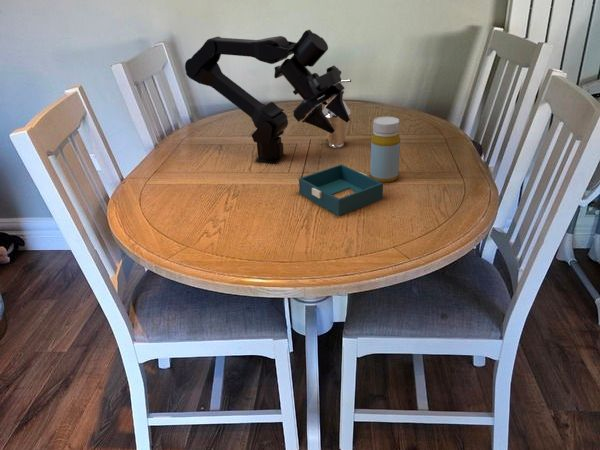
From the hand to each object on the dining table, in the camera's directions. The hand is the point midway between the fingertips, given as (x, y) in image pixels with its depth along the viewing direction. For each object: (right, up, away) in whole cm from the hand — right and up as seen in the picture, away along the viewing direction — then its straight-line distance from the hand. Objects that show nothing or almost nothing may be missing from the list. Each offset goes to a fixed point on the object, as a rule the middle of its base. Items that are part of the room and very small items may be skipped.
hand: (341, 126), depth 123 cm
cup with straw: (+1, -1, +22) cm, 22 cm away
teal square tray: (-1, -18, -7) cm, 20 cm away
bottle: (+11, -13, +1) cm, 17 cm away
